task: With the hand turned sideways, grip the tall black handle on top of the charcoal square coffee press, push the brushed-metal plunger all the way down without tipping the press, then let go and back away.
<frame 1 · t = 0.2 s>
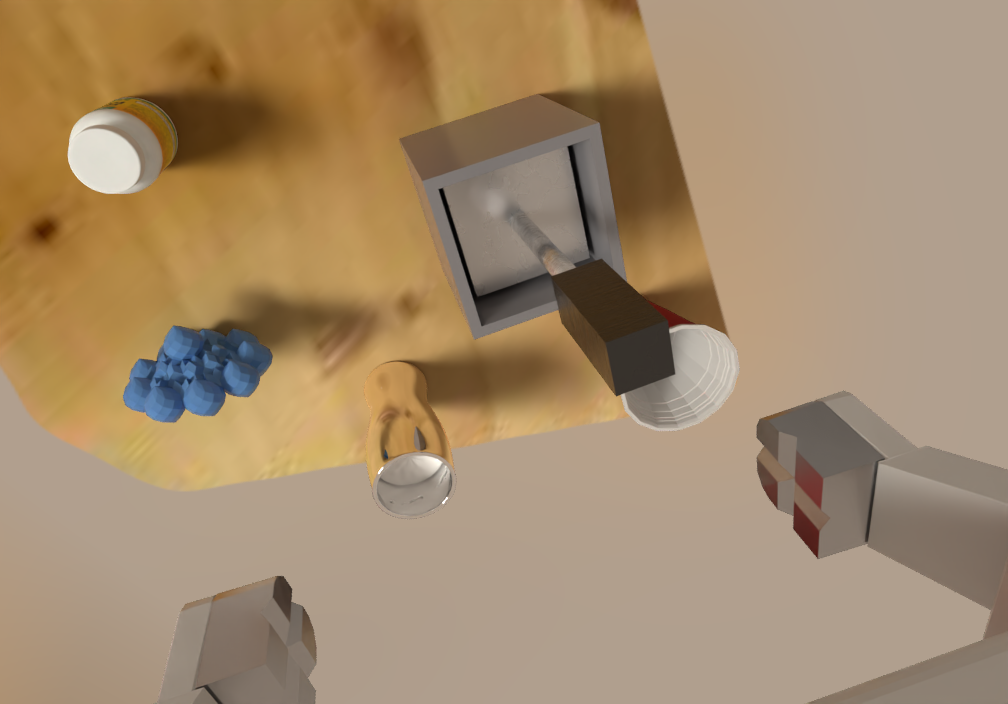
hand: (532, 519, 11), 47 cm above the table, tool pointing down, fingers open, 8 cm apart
grapes: (205, 328, 57), on the table
plastic cup: (626, 322, 67), on the table
plunger: (564, 272, 39), point 21 cm above the table, slide at 8.0 cm
press: (487, 185, 57), on the table
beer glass: (395, 387, 64), on the table
supplement bottle: (140, 133, 49), on the table
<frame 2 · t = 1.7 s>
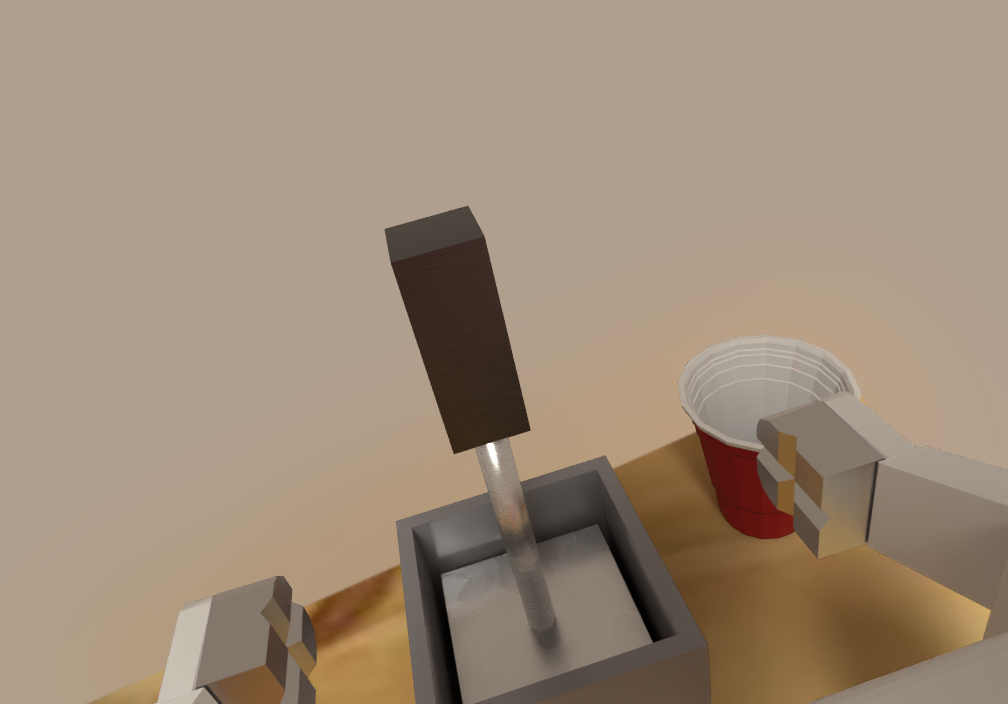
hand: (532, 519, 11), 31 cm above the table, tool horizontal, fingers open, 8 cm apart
plastic cup: (763, 513, 48), on the table
plunger: (500, 472, 27), point 21 cm above the table, slide at 8.0 cm
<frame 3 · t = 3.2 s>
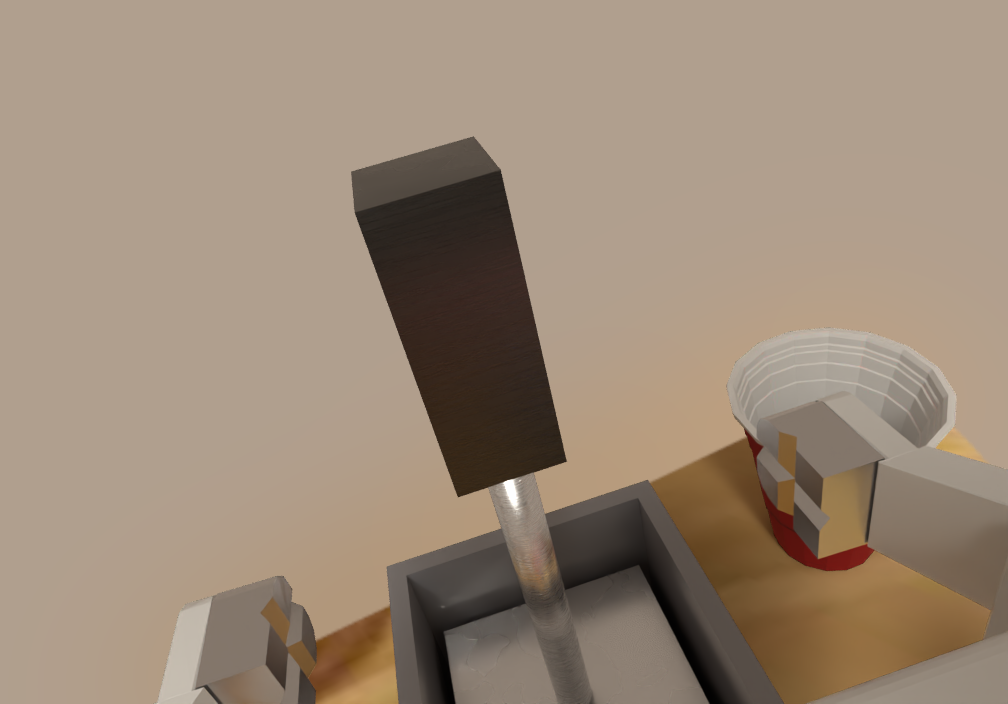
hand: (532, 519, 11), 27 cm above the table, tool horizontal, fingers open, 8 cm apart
plastic cup: (824, 538, 41), on the table
plunger: (521, 515, 20), point 21 cm above the table, slide at 8.0 cm
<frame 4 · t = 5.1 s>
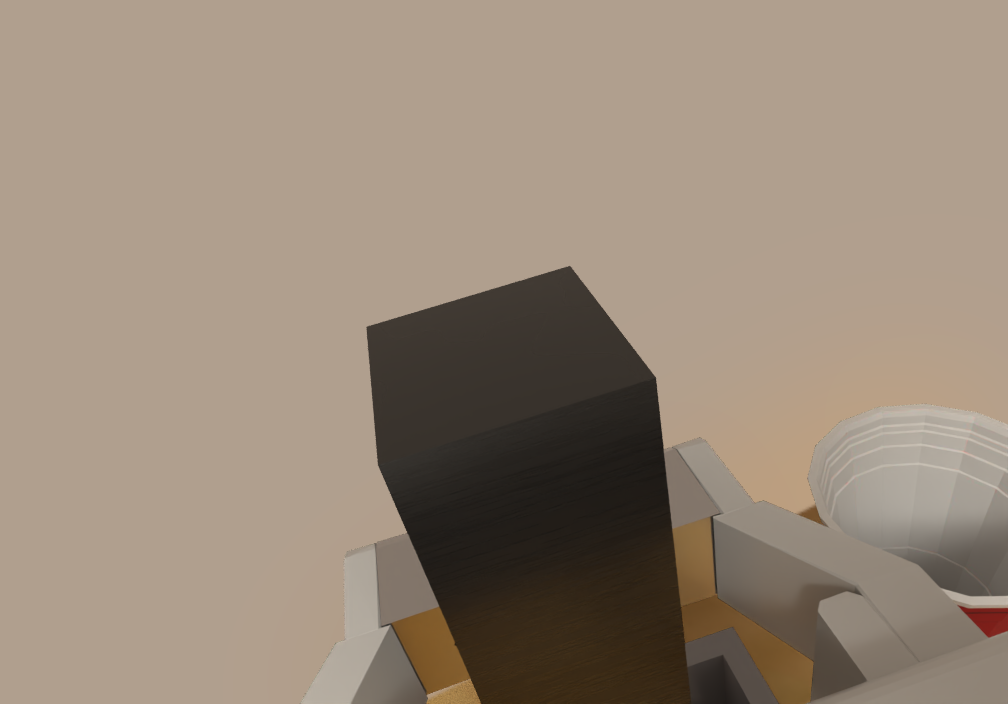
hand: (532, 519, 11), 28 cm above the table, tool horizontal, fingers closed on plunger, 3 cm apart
plastic cup: (912, 647, 35), on the table
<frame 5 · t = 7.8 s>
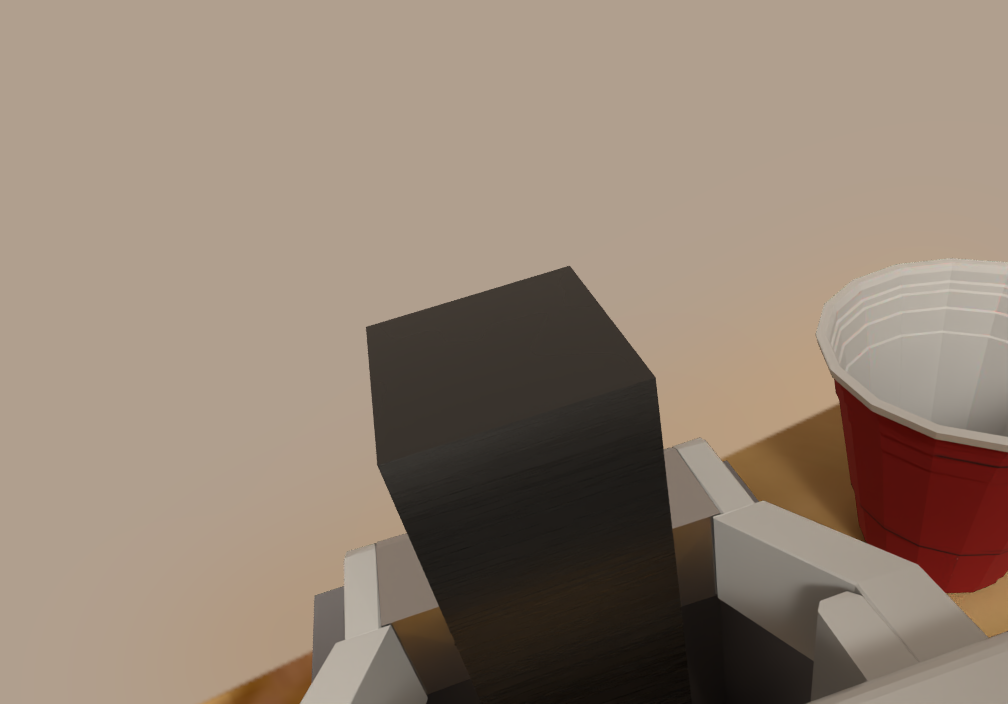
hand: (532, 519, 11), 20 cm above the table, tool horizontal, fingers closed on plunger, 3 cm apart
plastic cup: (934, 548, 30), on the table
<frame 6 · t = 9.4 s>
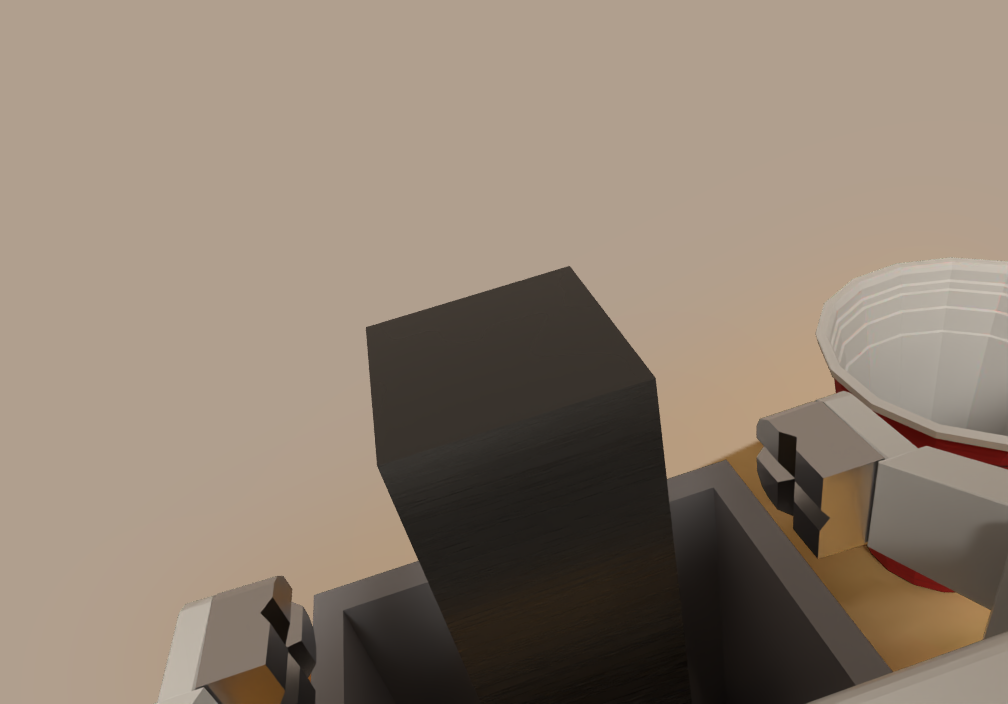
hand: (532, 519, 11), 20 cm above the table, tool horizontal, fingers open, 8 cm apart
plastic cup: (934, 547, 30), on the table
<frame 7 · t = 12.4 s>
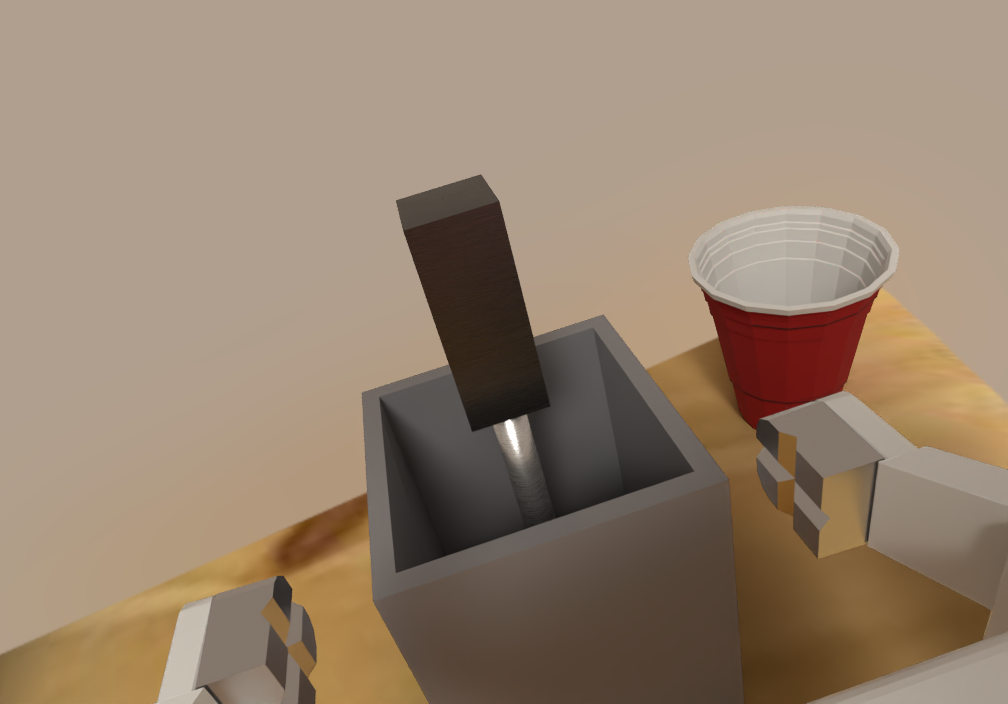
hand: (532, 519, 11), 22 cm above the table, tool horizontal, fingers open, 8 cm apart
plastic cup: (787, 413, 43), on the table
plunger: (519, 452, 27), point 13 cm above the table, slide at 0.0 cm
press: (573, 635, 34), on the table
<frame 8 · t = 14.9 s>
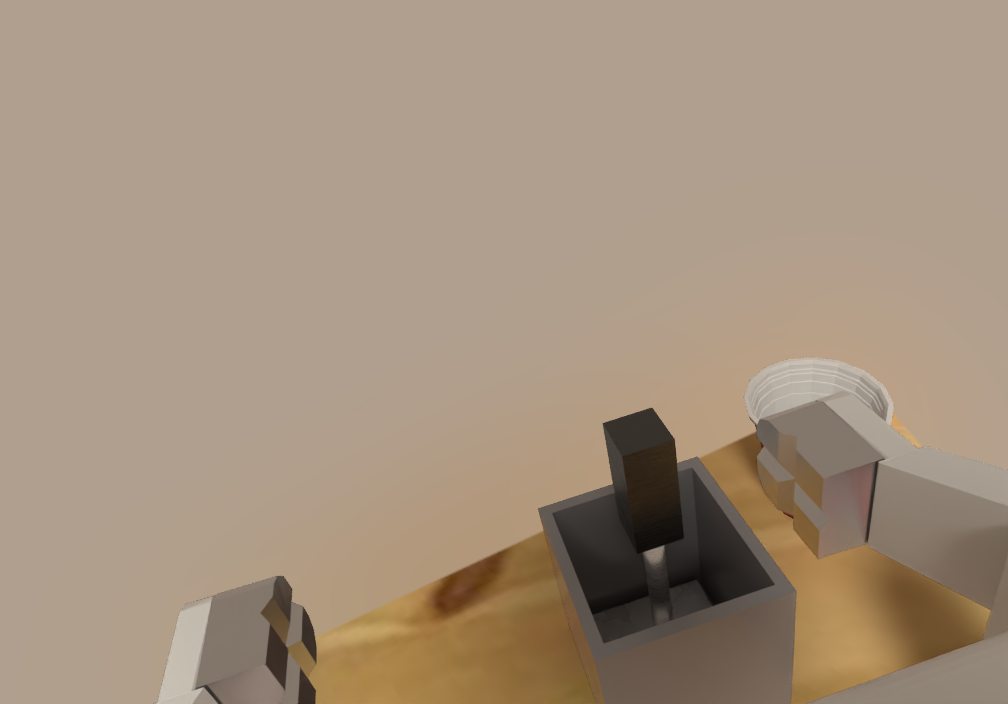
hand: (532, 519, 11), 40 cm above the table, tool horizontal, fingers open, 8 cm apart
plastic cup: (810, 502, 59), on the table
plunger: (654, 559, 42), point 13 cm above the table, slide at 0.0 cm
press: (669, 668, 49), on the table
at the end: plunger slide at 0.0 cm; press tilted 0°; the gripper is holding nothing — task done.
